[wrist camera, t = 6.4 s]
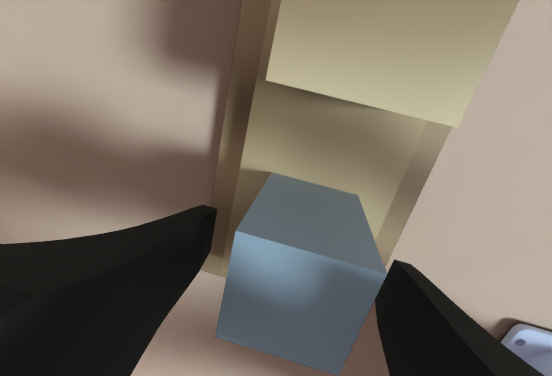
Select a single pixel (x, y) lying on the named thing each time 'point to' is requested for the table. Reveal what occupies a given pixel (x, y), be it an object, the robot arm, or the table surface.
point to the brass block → (390, 51)
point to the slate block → (301, 274)
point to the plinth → (312, 144)
